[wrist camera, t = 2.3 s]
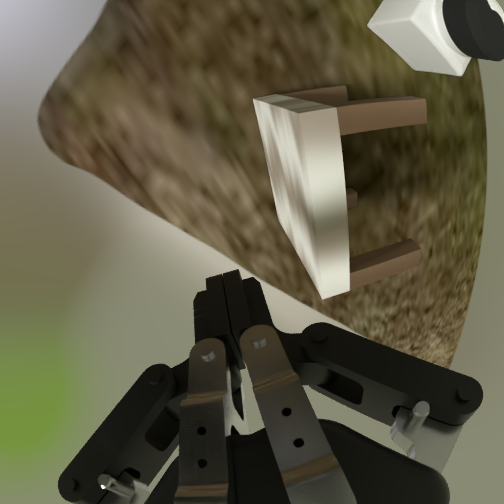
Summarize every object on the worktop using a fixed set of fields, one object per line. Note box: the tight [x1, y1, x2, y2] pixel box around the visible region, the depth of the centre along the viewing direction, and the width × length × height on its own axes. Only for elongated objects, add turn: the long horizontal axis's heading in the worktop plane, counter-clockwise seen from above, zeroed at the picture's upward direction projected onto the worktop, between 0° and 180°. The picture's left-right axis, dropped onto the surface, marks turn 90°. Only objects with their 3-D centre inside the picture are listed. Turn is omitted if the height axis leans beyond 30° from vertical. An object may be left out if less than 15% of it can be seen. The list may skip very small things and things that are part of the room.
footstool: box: [253, 85, 427, 299], centre depth 22 cm, size 12×8×12 cm, turn 13°
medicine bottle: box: [367, 0, 504, 76], centre depth 15 cm, size 7×7×12 cm
